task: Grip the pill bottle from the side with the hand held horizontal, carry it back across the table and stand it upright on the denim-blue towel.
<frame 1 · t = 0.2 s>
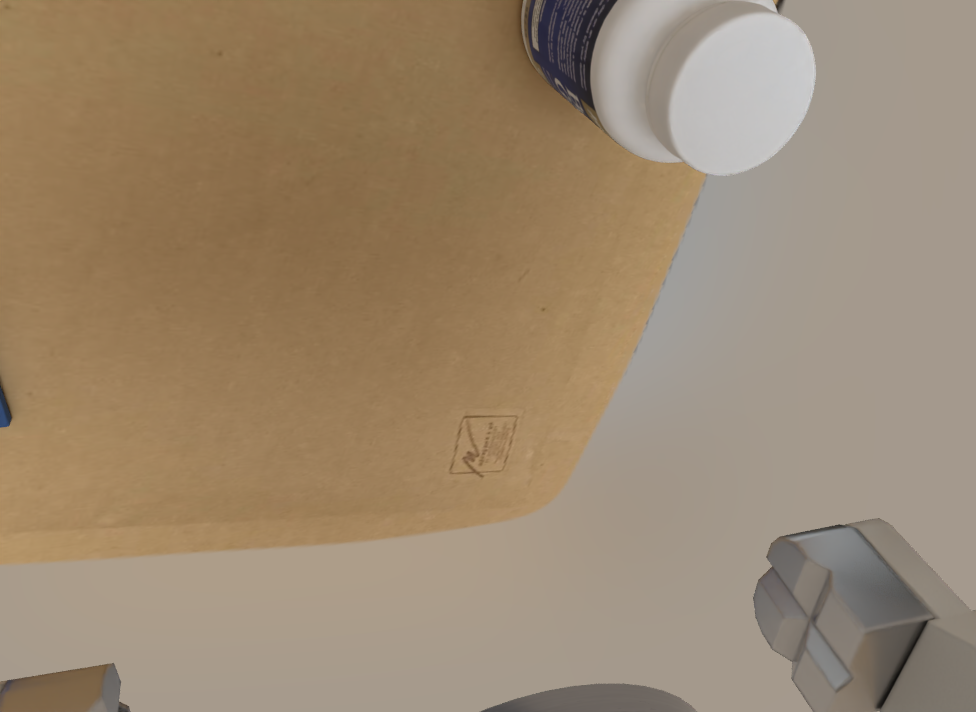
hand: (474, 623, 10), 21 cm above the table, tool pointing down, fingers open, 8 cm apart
pill bottle: (591, 11, 28), on the table
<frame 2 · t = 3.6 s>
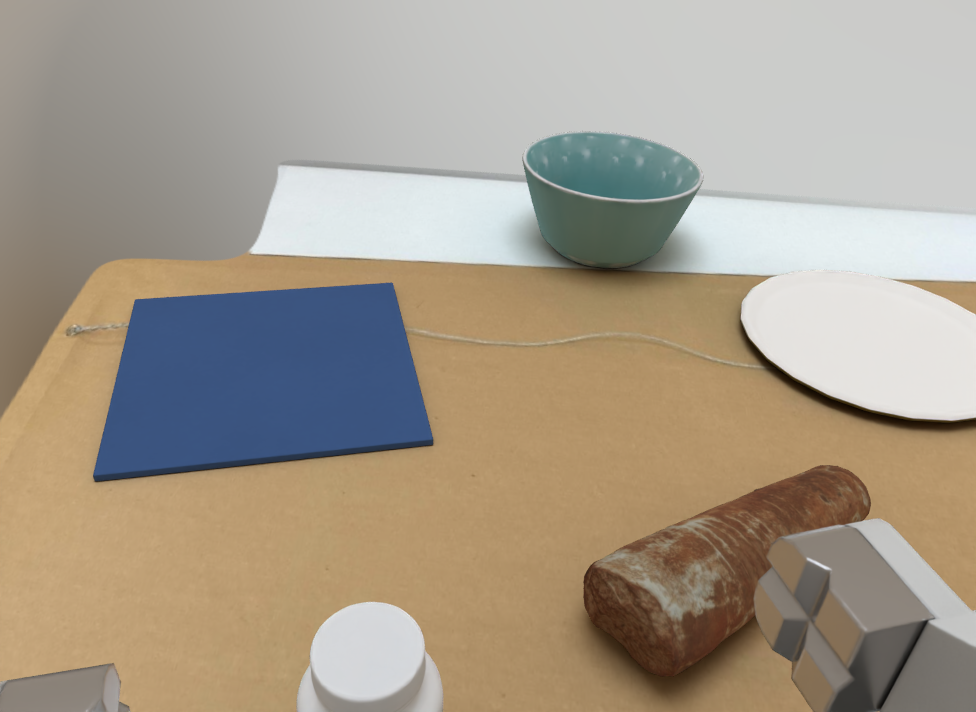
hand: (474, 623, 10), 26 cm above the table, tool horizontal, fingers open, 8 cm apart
plate: (871, 348, 64), on the table
brown rounded cylinder: (726, 576, 45), on the table
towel: (269, 367, 58), on the table
bowl: (600, 248, 76), on the table
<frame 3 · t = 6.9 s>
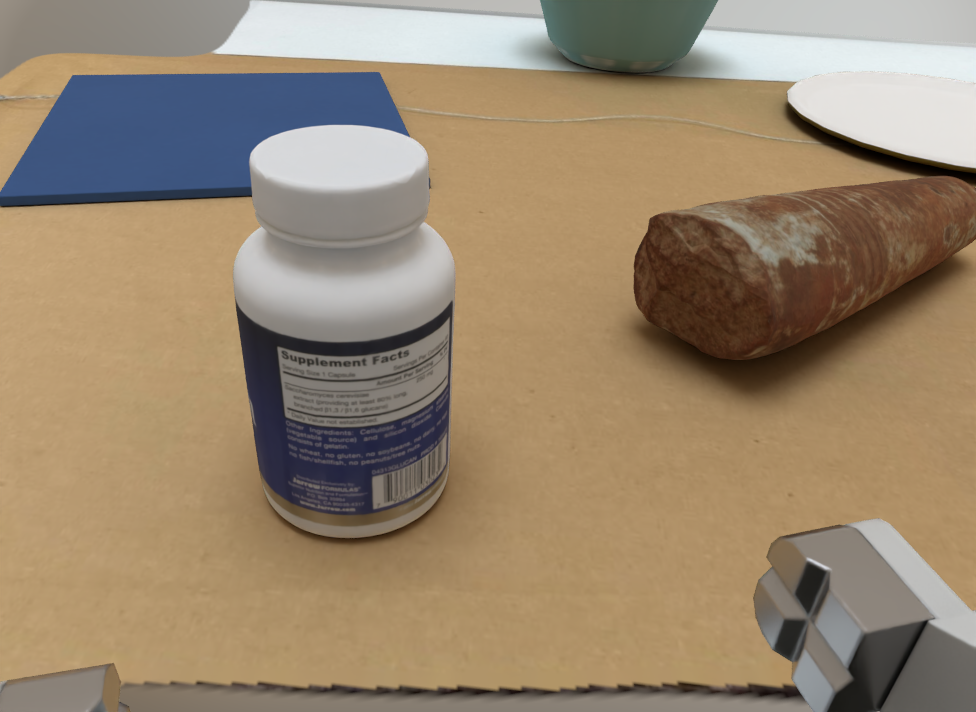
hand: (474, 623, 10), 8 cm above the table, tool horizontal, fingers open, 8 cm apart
plate: (941, 133, 55), on the table
brown rounded cylinder: (809, 297, 35), on the table
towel: (230, 129, 48), on the table
bowl: (617, 61, 67), on the table
pill bottle: (356, 481, 24), on the table
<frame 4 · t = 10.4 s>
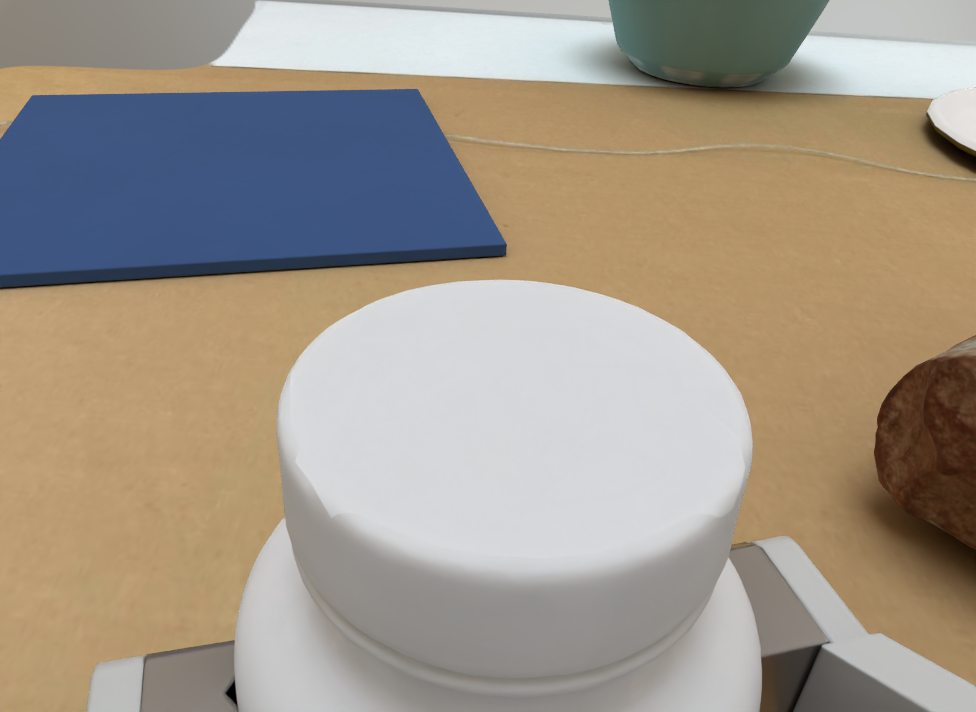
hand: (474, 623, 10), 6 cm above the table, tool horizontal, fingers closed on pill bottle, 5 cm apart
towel: (232, 168, 36), on the table
bowl: (698, 73, 55), on the table
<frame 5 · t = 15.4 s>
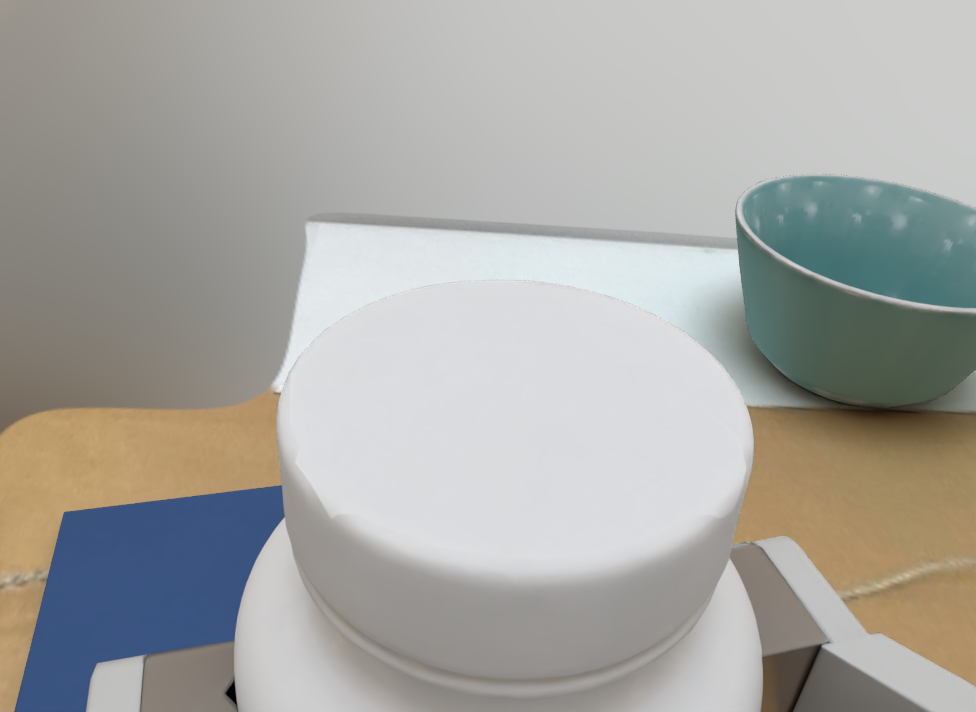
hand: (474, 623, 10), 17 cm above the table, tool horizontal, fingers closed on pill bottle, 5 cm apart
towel: (335, 690, 28), on the table
bowl: (843, 364, 47), on the table
when the fingers open (6 cm above the table, at t = 20.5 s): pill bottle stays where it is, resting on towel.
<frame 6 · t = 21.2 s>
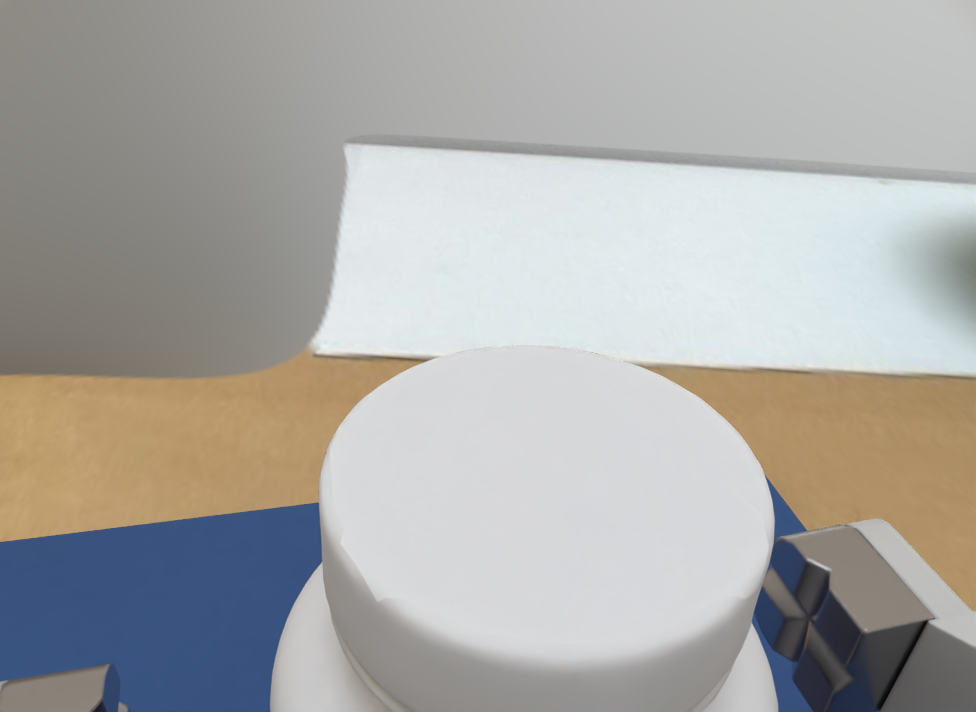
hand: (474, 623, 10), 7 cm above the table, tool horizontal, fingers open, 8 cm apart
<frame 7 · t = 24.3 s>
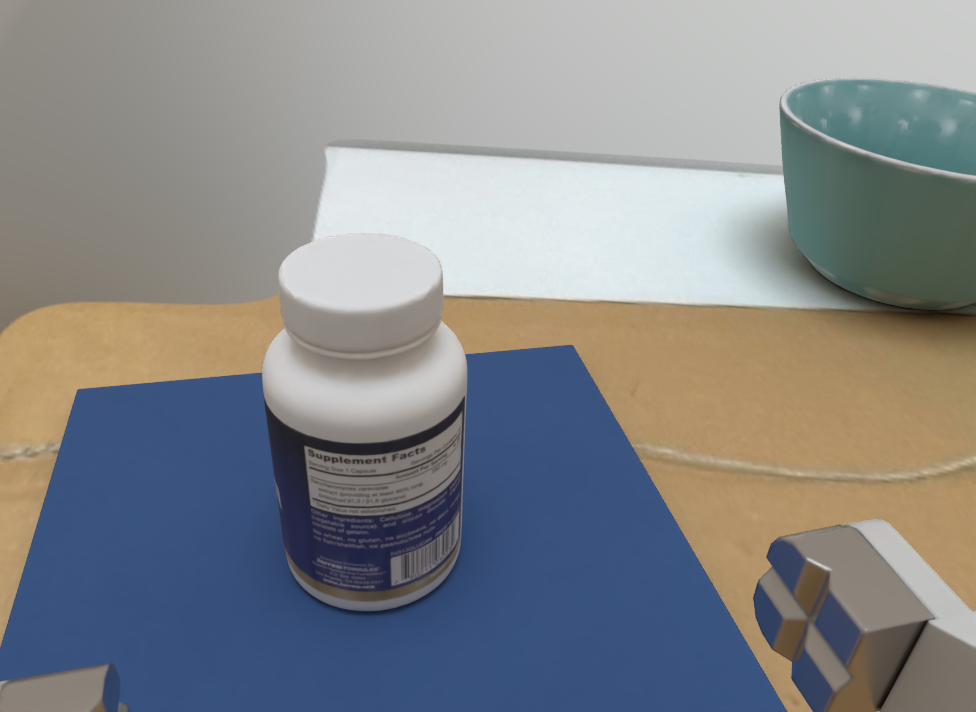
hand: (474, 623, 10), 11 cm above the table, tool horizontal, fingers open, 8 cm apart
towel: (369, 555, 26), on the table
bowl: (891, 274, 44), on the table
pill bottle: (374, 551, 25), resting on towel
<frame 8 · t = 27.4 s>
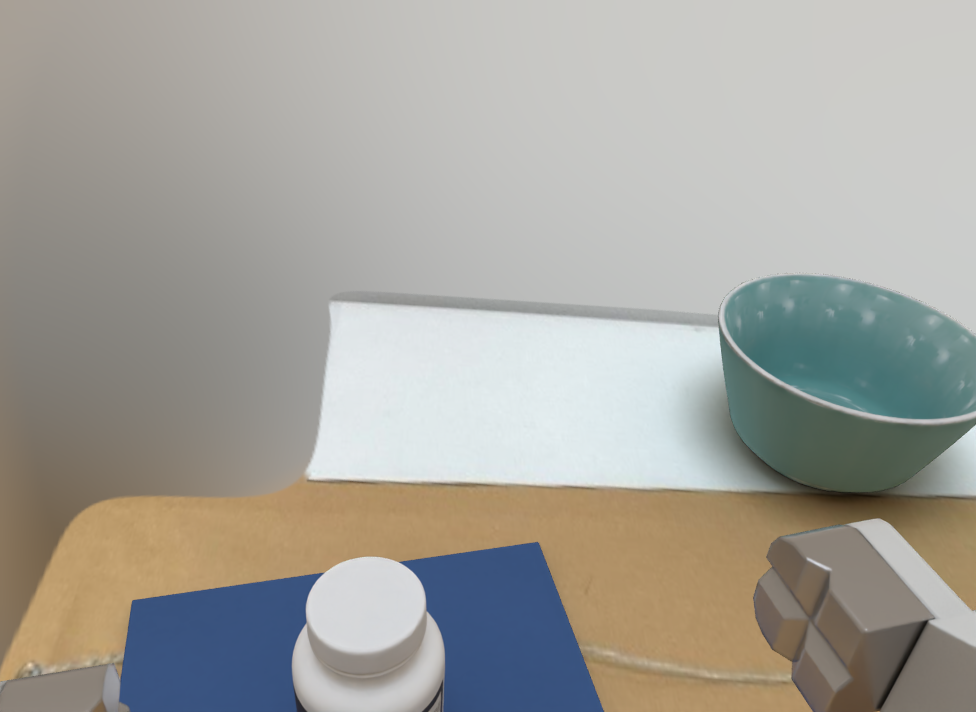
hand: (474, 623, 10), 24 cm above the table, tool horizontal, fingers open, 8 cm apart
bowl: (817, 447, 52), on the table
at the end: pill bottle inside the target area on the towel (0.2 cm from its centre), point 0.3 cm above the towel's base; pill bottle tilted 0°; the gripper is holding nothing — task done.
